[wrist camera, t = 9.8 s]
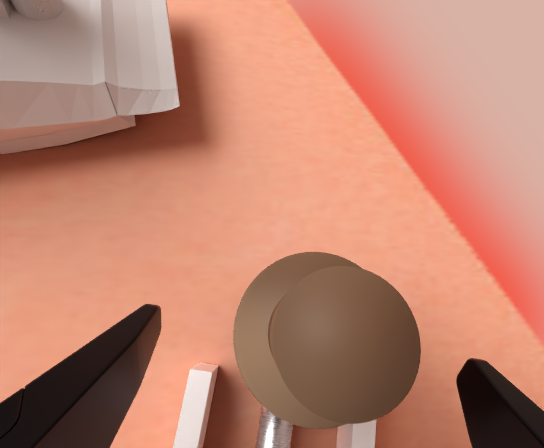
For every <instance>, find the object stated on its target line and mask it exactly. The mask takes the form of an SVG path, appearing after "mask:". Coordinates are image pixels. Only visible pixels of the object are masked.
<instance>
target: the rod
mask: <svg viewBox="0 0 544 448" xmlns="http://www.w3.org/2000/svg"><path fill="white" fill-rule="evenodd" d="M292 431H293V424H291V423H289V422H287V421H284V420H282V419H281V418H279V417H277V416H275V415H274V414H273V413H271V412H270V411H269V410H267V409H266V408H265V407H264V406H263V405H262V404H261V411H260V418H259V424H258V431H257V437H256V444H255V448H290V447H291V439H292Z"/></svg>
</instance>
